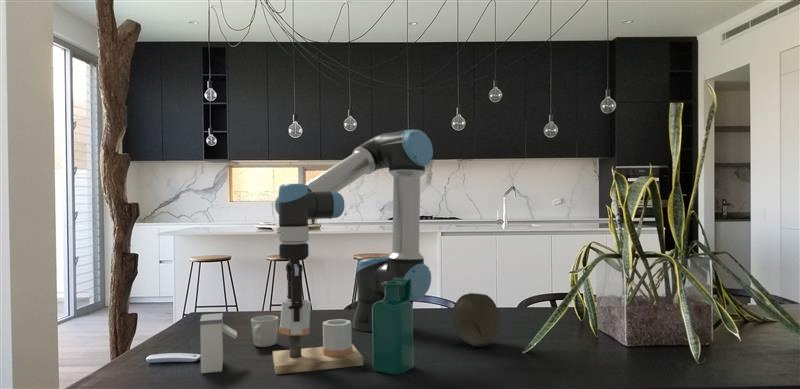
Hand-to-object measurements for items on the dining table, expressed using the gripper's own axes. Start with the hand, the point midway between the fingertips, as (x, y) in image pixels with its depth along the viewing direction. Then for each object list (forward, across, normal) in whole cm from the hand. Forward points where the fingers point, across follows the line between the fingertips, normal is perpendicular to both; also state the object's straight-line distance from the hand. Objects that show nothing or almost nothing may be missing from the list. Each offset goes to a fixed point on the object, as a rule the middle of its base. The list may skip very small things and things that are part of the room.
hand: (295, 330), depth 143 cm
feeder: (+9, -4, -18) cm, 21 cm away
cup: (+9, -21, -7) cm, 24 cm away
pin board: (+9, 0, +6) cm, 10 cm away
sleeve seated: (+7, 0, +11) cm, 13 cm away
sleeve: (0, 0, 0) cm, 1 cm away
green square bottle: (+9, +12, +24) cm, 28 cm away
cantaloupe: (+9, -1, +52) cm, 52 cm away
